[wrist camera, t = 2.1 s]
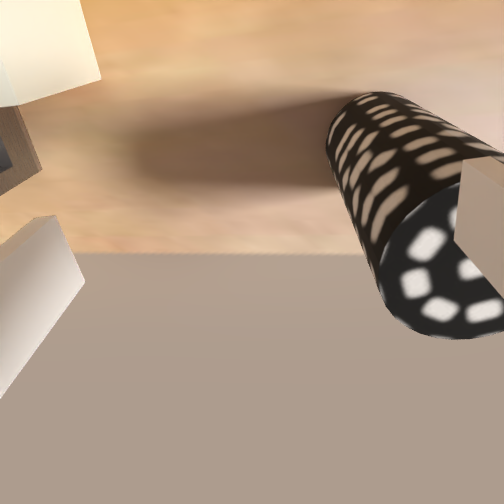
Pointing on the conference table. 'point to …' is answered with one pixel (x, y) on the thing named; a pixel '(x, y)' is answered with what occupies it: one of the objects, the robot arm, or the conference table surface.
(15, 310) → the robot arm
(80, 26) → the door panel
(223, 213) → the conference table surface
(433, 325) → the white-spotted black cylinder
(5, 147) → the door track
